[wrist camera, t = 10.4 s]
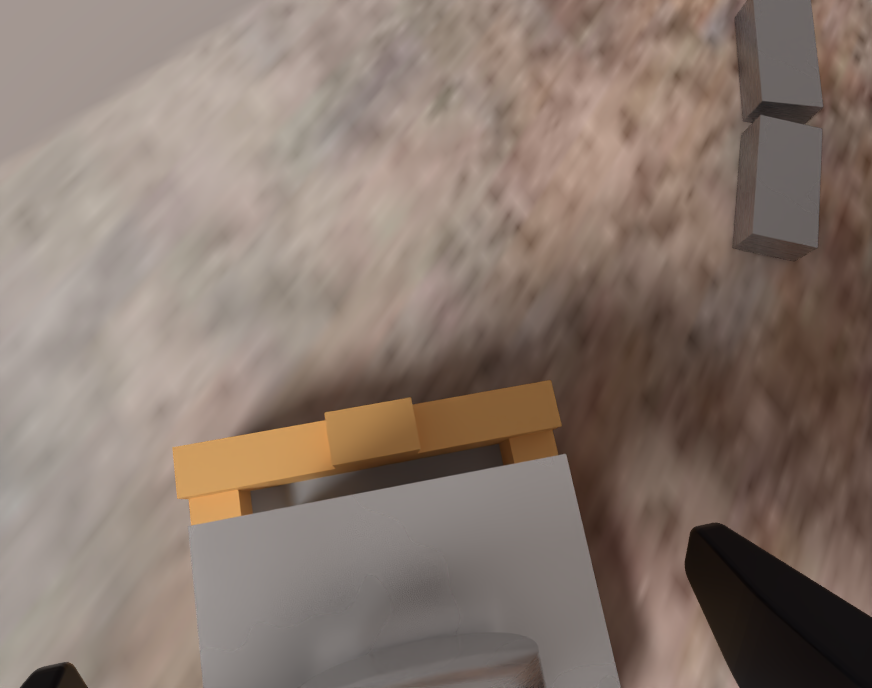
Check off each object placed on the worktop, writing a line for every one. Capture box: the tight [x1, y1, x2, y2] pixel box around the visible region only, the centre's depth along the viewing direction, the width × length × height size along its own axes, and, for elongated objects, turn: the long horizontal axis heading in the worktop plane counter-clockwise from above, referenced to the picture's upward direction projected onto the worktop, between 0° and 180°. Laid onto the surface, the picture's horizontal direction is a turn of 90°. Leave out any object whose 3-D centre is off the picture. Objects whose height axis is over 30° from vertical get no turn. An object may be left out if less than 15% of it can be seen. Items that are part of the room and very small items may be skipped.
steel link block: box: [188, 454, 621, 688], centre depth 11 cm, size 5×5×12 cm
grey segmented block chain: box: [733, 0, 823, 262], centre depth 23 cm, size 15×3×1 cm, turn 169°
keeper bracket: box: [172, 380, 562, 526], centre depth 16 cm, size 11×9×5 cm
